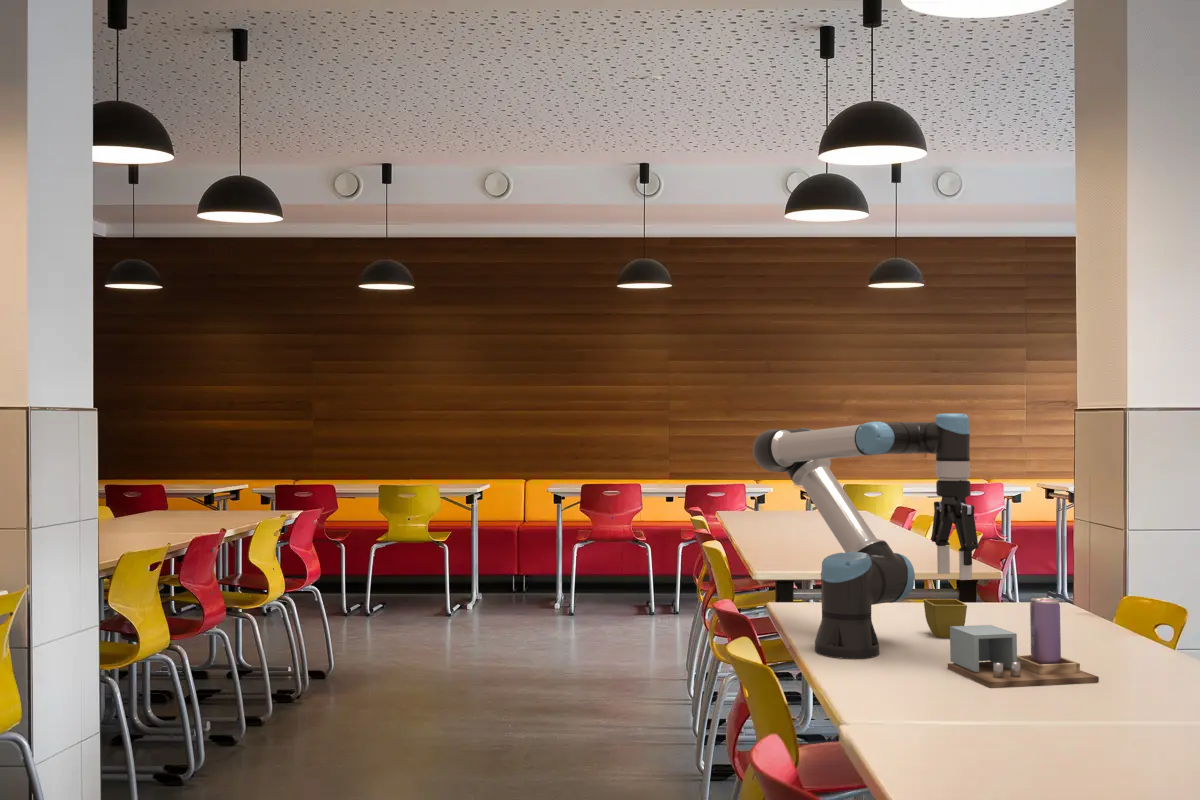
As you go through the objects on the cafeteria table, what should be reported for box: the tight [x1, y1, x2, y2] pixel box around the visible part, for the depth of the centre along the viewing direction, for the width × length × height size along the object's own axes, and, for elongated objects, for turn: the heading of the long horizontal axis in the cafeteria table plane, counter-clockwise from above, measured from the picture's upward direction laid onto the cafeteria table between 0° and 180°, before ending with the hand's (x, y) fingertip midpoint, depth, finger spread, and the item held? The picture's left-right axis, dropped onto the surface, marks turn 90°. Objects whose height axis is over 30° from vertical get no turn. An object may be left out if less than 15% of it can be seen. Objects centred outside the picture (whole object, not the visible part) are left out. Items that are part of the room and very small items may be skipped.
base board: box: [946, 654, 1100, 689], centre depth 214 cm, size 25×17×3 cm
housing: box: [949, 624, 1018, 672], centre depth 217 cm, size 10×10×8 cm
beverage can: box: [1029, 597, 1062, 665], centre depth 215 cm, size 6×6×15 cm
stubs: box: [993, 661, 1021, 678], centre depth 208 cm, size 6×2×3 cm, turn 100°
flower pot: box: [923, 598, 968, 639], centre depth 256 cm, size 9×9×9 cm
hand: (954, 576), depth 229 cm, fingers open, 9 cm apart
